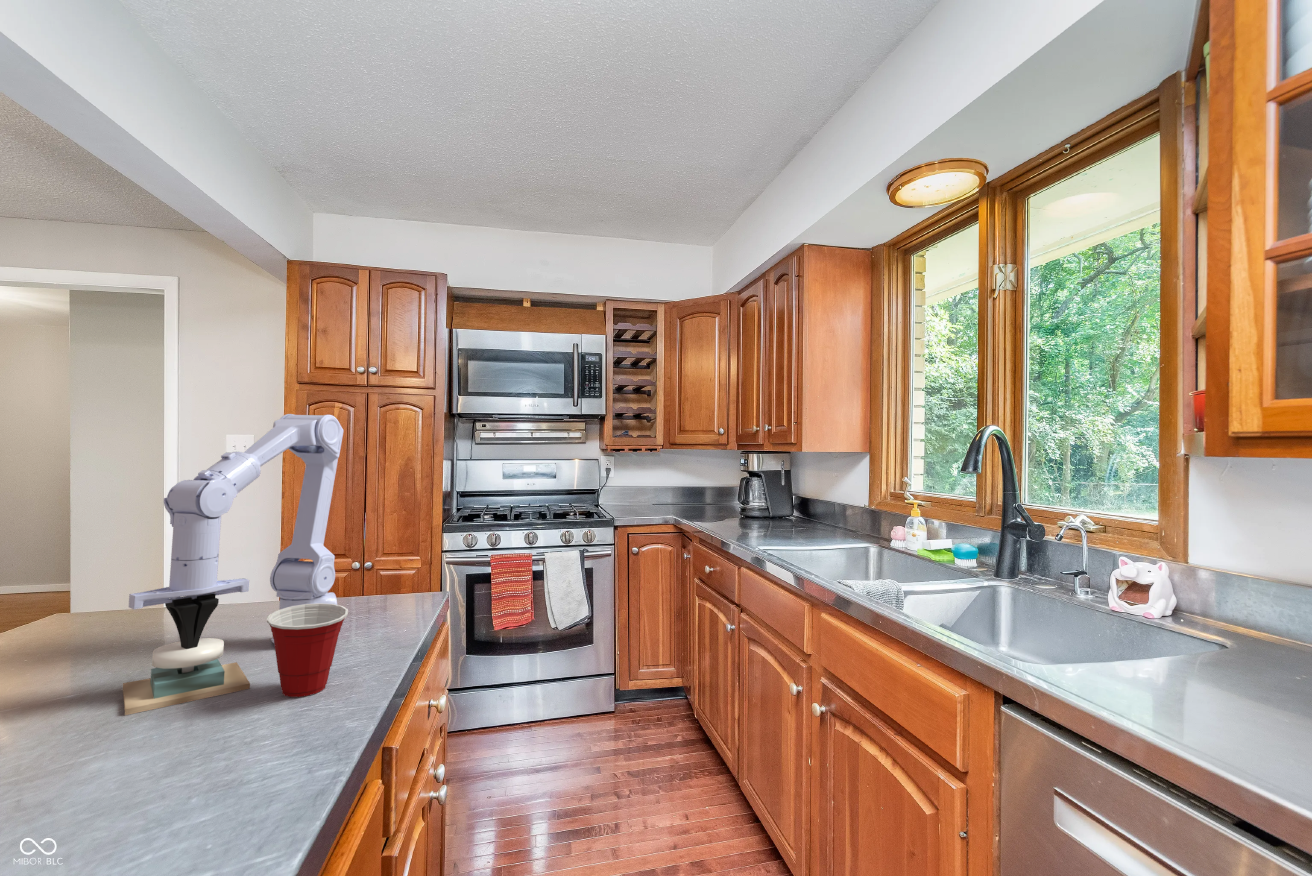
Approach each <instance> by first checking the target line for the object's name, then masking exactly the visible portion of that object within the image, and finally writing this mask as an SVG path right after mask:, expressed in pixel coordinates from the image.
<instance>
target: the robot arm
mask: <svg viewBox="0 0 1312 876" xmlns="http://www.w3.org/2000/svg"><path fill="white" fill-rule="evenodd" d="M344 430H345V429H343V427H342V425H341V423H340V422H339V420H338V419H337V418H336V417H335V416H334V415H332V414H324V415H318V414H317V415H316V414H315V415H314V414H309V415H308V414H292V413H287V414H283V415H282V416H281V417H280V418H279V419H277V420H274V422H273V426H272V428H271V429H270V430H269V431H267V432H266V433H265V434H264V435H263V436H262V437H260V438H259V439H257V440H256V441H255V442H254V443H253V444H252V445H251V446H250V447H248V448H247V449H246V450H245V451H231V452H227V451H226V452H225V453H223V454H222V455H220V458H221V459H220V460H218V461H217V462H215V463H214V464H212V465H211V466H210V467H208V468H206V469H203V470H201V471H199V472H198V474H197V476H195V477H194V478H192V479H183V480H181V481H179V482H177V483H175V485H174V486H172V487H171V488H170V489H169V491H168V492H167V496H166V497H164V498H163V505H164V508H165V510H166V512H167V513H168V514H169V517H170V519H169V520H170V521H169V524H170V525H171V527H172V539H171V553H170V555H171V556H170V570H169V585H168V586H166V587H162V588H157V589H156V588H155V589H150V590H146V591H141V592H133V593H130V594H129V596H128V608H129V609H132V610H139V609H143V608H145V607H152V606H157V605H158V606H159V605H164V604H165V605H164V606H165V608H166V610H167V611H168V613H169V614H170V616H171V618H172V620H173V622H174V624H175V627H176V629H177V632H178V637H179V641H180V642H181V647H182V648H185V649H190V648H195V647H197V646H198V643H199V639H200V638H201V636H202V634H203V631H204V628H205V627H206V625H207V623H208V621H209V619H210V618H211V615H212V614H213V613H214V611H215V610H216V608H217V607H218V605H219V602H220V601H219V599H220V598H217V597H216V596H221V595H228V594H233V593H234V594H235V593H245V592H249V590H250V579H248V578H236V579H235V578H234V579H223V580H222V579H221V580H218V574H219V573H218V572H219V556H220V554H219V553H220V540H221V527H222V525H221V524H222V516H223V515H224V514H227V513H228V512H229V511H230V510H231V509H232V505H233V502H234V499H235V498H237V497H238V494H239V493H240V492H241V491H243V490H244V489H245V488H247V487H248V486H249V485H250V484H252V483H253V482H254V481H256V480H257V479H258V478H259V477H260V475H261V471H262V470H261V467H262V466H264V465H265V464H267V463H269V462H271V461H272V460H273V459H275V458H276V457H278V456H279V455H281V454H282V453H284V452H285V451H287V450H289V451H290V452H291V453H292V454H294V455H295V456H296V457H297V458H300V459H301V460H302V461H303V462H304V464H305V469H304V473H303V479H302V486H301V490H300V496H299V500H298V501H299V502H298V507H297V512H296V519H295V523H294V529H293V534H292V541H291V544H290V545H288V546H287V547H286V548H284V549H283V550H282V551H280V552H279V553H278V555H277V560H276V563H275V565H274V567H273V569H272V571H271V573H270V576H269V577H270V578H269V582H270V587H271V589H272V590H273V591H274V592H276V595H275V596H276V597H277V598H279V606H278V607H279V609H278V610H280V609H284V608H287V607H291V606H297V605H303V604H316V603H324V604H335V605H338V600H337V596H336V594H335V592H333V591H332V592H331V591H330V590H331V589H332V587H333V585H334V583H335V580H336V570H335V558H336V556H335V554H334V553H332V552H331V551H330V550H329V549H328V548H327V547H325V545H324V544H325V539H326V538H325V537H326V533H327V532H326V531H327V527H328V520H329V514H330V509H331V502H332V498H333V490H334V486H335V478H336V475H337V474H336V473H337V469H338V460H339V458H340V453H341V448H342V442H343V436H344ZM302 559H306V560H307V561H306V560H302ZM310 560H311V561H310ZM329 591H330V592H329ZM270 641H271V642H272V643H273V644H274V639H273V637H272V638H271V639H270Z"/></svg>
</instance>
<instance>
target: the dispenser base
mask: <svg viewBox="0 0 1312 876" xmlns="http://www.w3.org/2000/svg"><path fill="white" fill-rule="evenodd" d="M250 689H251V682H250V681H249V679H248V678H247V676H246V675H245V673H244V672H243V669H242V668H241V667H240V665H239V664H238V662H231V663H225V664H221V662H220V660H219V658H218V659H216V660H213V661H211V662H207V663H204V664H200V665H195V666H194V671H193V672H187V673H182V668H172V669H163V668H156V667H153V668H151V669H150V678H149V677H148V678H143V679H139V680H133V681H129V682H127V681H126V682H123V683H122V697H123V708H124V716H128V715H134V714H137V713H141V712H147V711H153V710H156V709H157V710H158V709H161V708H166V707H169V706H174V705H179V704H180V705H181V704H184V703H189V702H193V701H194V702H195V701H199V700H205V699H209V698H212V697H216V696H217V697H218V696H222V695H227V694H230V693H236V692H240V691H245V690H250Z"/></svg>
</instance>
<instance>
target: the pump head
mask: <svg viewBox="0 0 1312 876" xmlns="http://www.w3.org/2000/svg"><path fill="white" fill-rule="evenodd" d="M224 644H225V642H224V640H223V639H221V638H215V637H214V638H213V637H209V638H208V637H206V638H205V637H204V638H203V637H202V638H201V637H200V639H199V643H198V646H197V647H195V648H190V649H185V648H182V647H181V642H180V640H179V641H175V642H171V643H167V644H164V645H160V646H159V647H156V648H155V649H153V651H152V658H151V659H152V660H151V665H152V667H153V668H163V669H172V668H182V673H187V672H193V671H194V666H195V665H200V664H204V663H207V662H211V661H213V660H216V659H218V660H219V659H220V658H221V657H222V656H223V655H224V650H225V649H224V647H225V645H224Z"/></svg>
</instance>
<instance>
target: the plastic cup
mask: <svg viewBox="0 0 1312 876" xmlns="http://www.w3.org/2000/svg"><path fill="white" fill-rule="evenodd" d="M348 614H349V609H348V608H347V607H345V606H343V605H340V604H337V605H335V604H324V603H316V604H303V605H297V606H291V607H287V608H284V609H280V610H279V609H277V610H275V611H273V612H272V613H270V614H268V616H267V618H266V622H267V624H268V625H269V627H270V631H271V633H272V638H273V639H274V643H273V645H274V651H275V658H276V665H277V673H278V675H279V682H280V690H281V694H282V695H283V696H284V697H287V698H288V697H289V698H301V697H307V696H311V695H316V694H318V693H320V692H322V691H324V690H325V689H326V685H327V684H328V679H329V674H330V670H331V667H332V665H333V660H334V657H335V656H334V655H335V652H336V647H337V643H338V639H339V635H340V633H341V628H342V626H343V625H344V624H343V623H344V621H345V619H346V618H347V617H348Z"/></svg>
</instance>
